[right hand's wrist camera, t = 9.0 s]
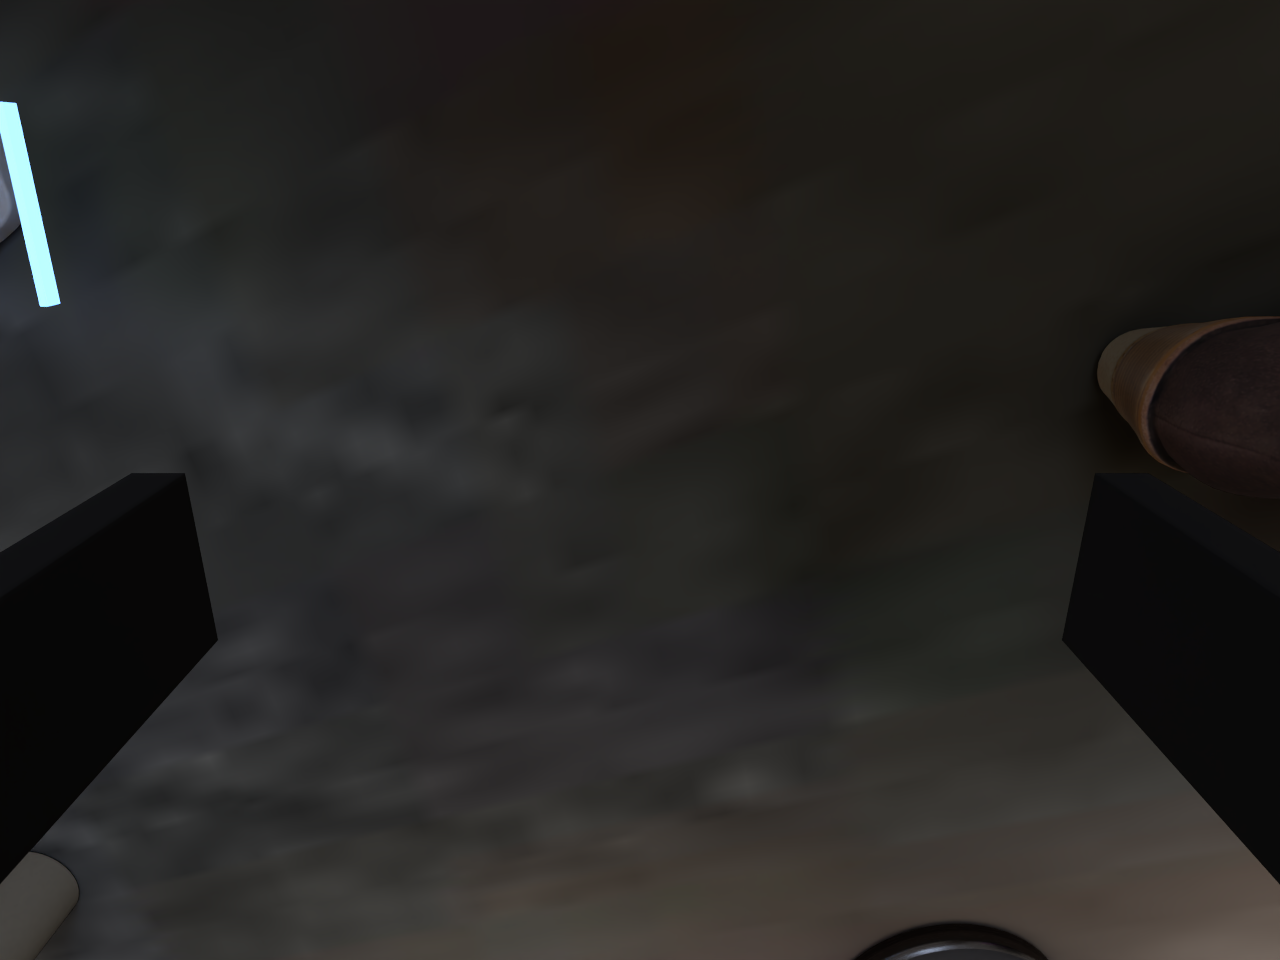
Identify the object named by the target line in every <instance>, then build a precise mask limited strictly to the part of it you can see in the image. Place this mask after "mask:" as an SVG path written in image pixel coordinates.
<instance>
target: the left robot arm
mask: <svg viewBox="0 0 1280 960" xmlns="http://www.w3.org/2000/svg"><path fill="white" fill-rule="evenodd" d="M20 224H21V225H22V229H23V233H24V238H25V242H26V247H27V251H28V255H29V260H30V264H31V268H32V273H33V277H34V282H35V286H36V290H37V295H38V299H39V303H40V306H52V305H56V304H60V300H59V296H58V291H57V287H56V282H55V277H54V273H53V268H52V264H51V259H50V255H49V250H48V246H47V241H46V237H45V232H44V227H43V223H42V218H41V214H40V209H39V205H38V200H37V196H36V191H35V187H34V182H33V177H32V173H31V168H30V164H29V159H28V155H27V150H26V146H25V141H24V137H23V132H22V127H21V123H20V118H19V114H18V109H17V105H16V103H7V102H0V243H1V242H2V241H3V240H4V239H6V238H7V237H8V236H9V235H10V234H11V233H12V232H13V231H15V230H16V229H17V227H18V226H19V225H20Z"/></svg>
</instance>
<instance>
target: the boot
mask: <svg viewBox="0 0 1280 960" xmlns="http://www.w3.org/2000/svg"><path fill="white" fill-rule="evenodd" d="M1097 377H1098V382H1099V386H1100V388H1101V390H1102V391H1103V393H1104V394H1105V395H1106V396H1107V397H1108V398H1109V399H1110V400H1111V402H1112V403H1113V404H1114V406H1115V407H1116V409H1117V410H1118V412H1119V413H1120V415H1121V416H1122V417H1123V418H1124V419H1125V420H1126V421H1127V422H1128V423H1129V424H1130V426H1131V427H1132V429H1133V430H1134V431H1135V433H1136V434H1137V436H1138V438H1139V440H1140V442H1141V444H1142V445H1143V447H1144V448H1145V449H1146V451H1147V452H1148V453H1149V454H1150V455H1151V456H1152V457H1153V458H1154V459H1156V460H1157V461H1158V462H1160V463H1161V464H1164V465H1166V466H1168V467H1170V468H1172V469H1175V470H1178V471H1181V472H1185V473H1189V474H1191V475H1192V476H1194V477H1195V478H1197V479H1198V480H1200V481H1201V482H1203V483H1205V484H1207V485H1209V486H1211V487H1213V488H1215V489H1218V490H1221V491H1224V492H1228V493H1232V494H1237V495H1242V496H1248V497H1256V498H1278V499H1280V316H1260V317H1238V318H1229V319H1222V320H1216V321H1210V322H1204V323H1188V324H1179V325H1173V326H1168V327H1156V328H1143V329H1138V330H1133V331H1129V332H1127V333H1124V334H1122V335H1120V336H1119V337H1117V338H1115V339H1114V340H1113V341H1112V342H1110V343H1109V345H1108V346H1107V347H1106V348H1105V350H1104V351H1103V353H1102V355H1101V358H1100V360H1099V363H1098V370H1097Z"/></svg>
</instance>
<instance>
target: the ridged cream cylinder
mask: <svg viewBox="0 0 1280 960" xmlns="http://www.w3.org/2000/svg"><path fill="white" fill-rule="evenodd" d="M78 898H79V888H78V884H77V882H76V880H75V878H74V876H73V875H72V874H71V872H70V871H69V870H68V869H67V868H66V867H65V866H63V865H62V864H61V863H59V862H58V861H56V860H54V859H53V858H50V857H48V856H46V855H43V854H39V853H35V852H29V853H28V854H27V855H26V856H25V857H24V858H23V859H22V860H21V862H20V863H19V864H18V865H17V866H16V867H15V868H14V869H13V870H12V872H11V873H10V874H9V875H8V876H7V877H6V878H5V879H4V881H3V882H2V883H1V884H0V960H35V958H36V957H37V956H38V954H39V953H40V952H41V950H42V949H43V948H44V947H45V945H46V944H47V943H48V941H49V940H50V939H51V937H52V936H53V935H54V933H55V932H56V931H57V929H58V928H59V927H60V925H61V924H62V923H63V921H64V920H65V919H66V918H67V916H68V915H69V914H70V912H71V911H72V910H73V908H74V907H75V905H76V904H77V901H78Z"/></svg>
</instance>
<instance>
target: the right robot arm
mask: <svg viewBox="0 0 1280 960" xmlns="http://www.w3.org/2000/svg"><path fill="white" fill-rule="evenodd" d="M217 641H218V638H217V633H216V628H215V623H214V618H213V613H212V608H211V603H210V598H209V593H208V588H207V583H206V578H205V573H204V568H203V563H202V557H201V552H200V547H199V542H198V537H197V532H196V527H195V522H194V517H193V512H192V507H191V502H190V497H189V492H188V487H187V482H186V477H185V473H131V474H130V475H128V476H126V477H125V478H123V479H121V480H120V481H118V482H116V483H115V484H113V485H111V486H110V487H108V488H106V489H105V490H103V491H102V492H100V493H98V494H97V495H95V496H93V497H92V498H90V499H88V500H87V501H85V502H83V503H82V504H80V505H78V506H77V507H75V508H73V509H72V510H70V511H68V512H67V513H65V514H63V515H62V516H60V517H58V518H57V519H55V520H53V521H52V522H50V523H48V524H47V525H45V526H43V527H42V528H40V529H39V530H37V531H35V532H34V533H32V534H30V535H29V536H27V537H25V538H24V539H22V540H20V541H19V542H17V543H15V544H14V545H12V546H10V547H9V548H7V549H5V550H4V551H2V552H0V884H1V883H2V882H3V881H4V879H5V878H6V877H7V876H8V875H9V874H10V873H11V872H12V870H13V869H14V868H15V867H16V866H17V865H18V864H19V863H20V862H21V860H22V859H23V858H24V857H25V856H26V855H27V854H28V853H29V851H30V850H31V849H32V848H33V847H34V846H35V845H36V844H37V842H38V841H39V840H40V839H41V838H42V837H43V836H44V835H45V833H46V832H47V831H48V830H49V829H50V828H51V827H52V826H53V824H54V823H55V822H56V821H57V820H58V819H59V818H60V817H61V816H62V814H63V813H64V812H65V811H66V810H67V809H68V808H69V807H70V805H71V804H72V803H73V802H74V801H75V800H76V799H77V798H78V796H79V795H80V794H81V793H82V792H83V791H84V790H85V789H86V787H87V786H88V785H89V784H90V783H91V782H92V781H93V780H94V779H95V777H96V776H97V775H98V774H99V773H100V772H101V771H102V770H103V768H104V767H105V766H106V765H107V764H108V763H109V762H110V761H111V759H112V758H113V757H114V756H115V755H116V754H117V753H118V752H119V750H120V749H121V748H122V747H123V746H124V745H125V744H126V743H127V741H128V740H129V739H130V738H131V737H132V736H133V735H134V734H135V733H136V731H137V730H138V729H139V728H140V727H141V726H142V725H143V724H144V722H145V721H146V720H147V719H148V718H149V717H150V716H151V715H152V713H153V712H154V711H155V710H156V709H157V708H158V707H159V706H160V704H161V703H162V702H163V701H164V700H165V699H166V698H167V697H168V696H169V694H170V693H171V692H172V691H173V690H174V689H175V688H176V687H177V685H178V684H179V683H180V682H181V681H182V680H183V679H184V678H185V676H186V675H187V674H188V673H189V672H190V671H191V670H192V669H193V667H194V666H195V665H196V664H197V663H198V662H199V661H200V660H201V658H202V657H203V656H204V655H205V654H206V653H207V652H208V651H209V650H210V648H211V647H212V646H213V645H214V644H215V643H216V642H217ZM1062 641H1063V642H1064V643H1065V644H1066V645H1067V646H1068V647H1069V648H1070V650H1071V651H1072V652H1073V653H1074V654H1075V655H1076V656H1077V657H1078V658H1079V660H1080V661H1081V662H1082V663H1083V664H1084V665H1085V666H1086V667H1087V669H1088V670H1089V671H1090V672H1091V673H1092V674H1093V675H1094V676H1095V678H1096V679H1097V680H1098V681H1099V682H1100V683H1101V684H1102V685H1103V687H1104V688H1105V689H1106V690H1107V691H1108V692H1109V693H1110V694H1111V696H1112V697H1113V698H1114V699H1115V700H1116V701H1117V702H1118V703H1119V704H1120V706H1121V707H1122V708H1123V709H1124V710H1125V711H1126V712H1127V713H1128V715H1129V716H1130V717H1131V718H1132V719H1133V720H1134V721H1135V722H1136V724H1137V725H1138V726H1139V727H1140V728H1141V729H1142V730H1143V731H1144V733H1145V734H1146V735H1147V736H1148V737H1149V738H1150V739H1151V740H1152V741H1153V743H1154V744H1155V745H1156V746H1157V747H1158V748H1159V749H1160V750H1161V752H1162V753H1163V754H1164V755H1165V756H1166V757H1167V758H1168V759H1169V761H1170V762H1171V763H1172V764H1173V765H1174V766H1175V767H1176V768H1177V770H1178V771H1179V772H1180V773H1181V774H1182V775H1183V776H1184V777H1185V779H1186V780H1187V781H1188V782H1189V783H1190V784H1191V785H1192V786H1193V787H1194V789H1195V790H1196V791H1197V792H1198V793H1199V794H1200V795H1201V796H1202V798H1203V799H1204V800H1205V801H1206V802H1207V803H1208V804H1209V805H1210V807H1211V808H1212V809H1213V810H1214V811H1215V812H1216V813H1217V814H1218V816H1219V817H1220V818H1221V819H1222V820H1223V821H1224V822H1225V823H1226V825H1227V826H1228V827H1229V828H1230V829H1231V830H1232V831H1233V832H1234V833H1235V835H1236V836H1237V837H1238V838H1239V839H1240V840H1241V841H1242V842H1243V844H1244V845H1245V846H1246V847H1247V848H1248V849H1249V850H1250V851H1251V853H1252V854H1253V855H1254V856H1255V857H1256V858H1257V859H1258V860H1259V862H1260V863H1261V864H1262V865H1263V866H1264V867H1265V868H1266V869H1267V870H1268V872H1269V873H1270V874H1271V875H1272V876H1273V877H1274V878H1275V879H1276V881H1277V882H1278V883H1279V884H1280V552H1278V551H1276V550H1275V549H1273V548H1271V547H1270V546H1268V545H1266V544H1265V543H1263V542H1261V541H1260V540H1258V539H1256V538H1255V537H1253V536H1251V535H1250V534H1248V533H1246V532H1245V531H1243V530H1241V529H1240V528H1238V527H1237V526H1235V525H1233V524H1232V523H1230V522H1228V521H1227V520H1225V519H1223V518H1222V517H1220V516H1218V515H1217V514H1215V513H1213V512H1212V511H1210V510H1208V509H1207V508H1205V507H1203V506H1202V505H1200V504H1198V503H1197V502H1195V501H1193V500H1192V499H1190V498H1188V497H1187V496H1185V495H1183V494H1182V493H1180V492H1178V491H1177V490H1175V489H1174V488H1172V487H1170V486H1169V485H1167V484H1165V483H1164V482H1162V481H1160V480H1159V479H1157V478H1155V477H1154V476H1152V475H1150V474H1149V473H1095V477H1094V482H1093V487H1092V492H1091V497H1090V502H1089V507H1088V512H1087V517H1086V522H1085V527H1084V532H1083V537H1082V542H1081V547H1080V552H1079V557H1078V563H1077V568H1076V573H1075V578H1074V583H1073V588H1072V593H1071V598H1070V603H1069V608H1068V613H1067V618H1066V623H1065V628H1064V633H1063V638H1062ZM856 960H1048V959H1047V958H1046V957H1045V956H1044V955H1043V954H1042V953H1041V952H1040V951H1039V950H1038V949H1037V948H1035V947H1034V946H1033V945H1031V944H1030V943H1028V942H1027V941H1025V940H1023V939H1021V938H1019V937H1017V936H1015V935H1013V934H1010V933H1008V932H1005V931H1002V930H998V929H995V928H990V927H985V926H978V925H967V924H948V925H937V926H931V927H925V928H920V929H916V930H912V931H909V932H906V933H903V934H900V935H897V936H895V937H892V938H890V939H887V940H885V941H883V942H881V943H879V944H877V945H876V946H874V947H873V948H871V949H869V950H868V951H866V952H865V953H863V954H862V955H861V956H859V957H858V958H857V959H856Z"/></svg>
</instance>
